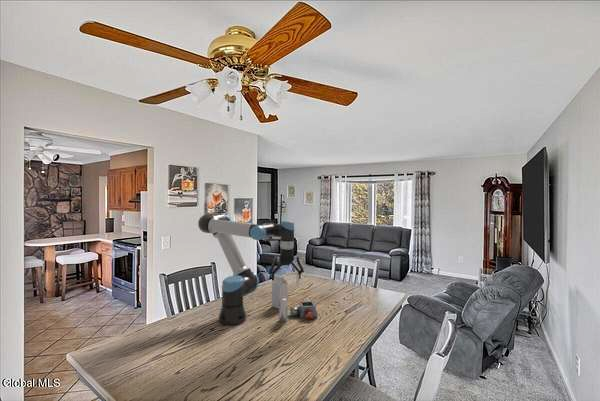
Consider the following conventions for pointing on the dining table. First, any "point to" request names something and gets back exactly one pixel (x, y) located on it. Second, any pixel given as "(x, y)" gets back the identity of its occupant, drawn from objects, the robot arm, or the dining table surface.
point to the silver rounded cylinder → (283, 310)
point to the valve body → (305, 310)
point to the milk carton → (278, 291)
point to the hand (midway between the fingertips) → (286, 285)
